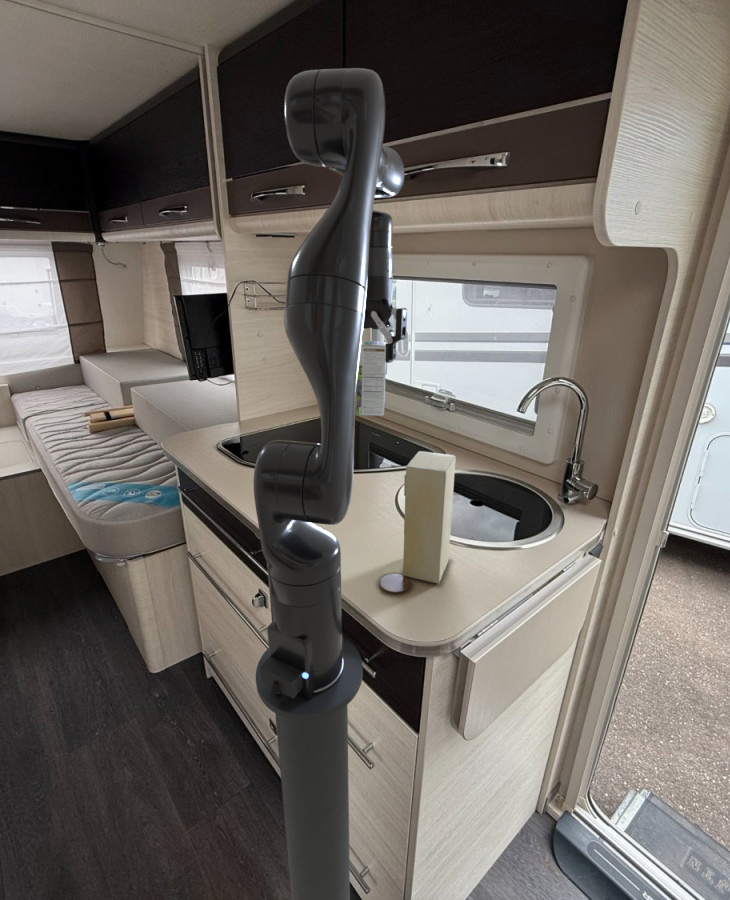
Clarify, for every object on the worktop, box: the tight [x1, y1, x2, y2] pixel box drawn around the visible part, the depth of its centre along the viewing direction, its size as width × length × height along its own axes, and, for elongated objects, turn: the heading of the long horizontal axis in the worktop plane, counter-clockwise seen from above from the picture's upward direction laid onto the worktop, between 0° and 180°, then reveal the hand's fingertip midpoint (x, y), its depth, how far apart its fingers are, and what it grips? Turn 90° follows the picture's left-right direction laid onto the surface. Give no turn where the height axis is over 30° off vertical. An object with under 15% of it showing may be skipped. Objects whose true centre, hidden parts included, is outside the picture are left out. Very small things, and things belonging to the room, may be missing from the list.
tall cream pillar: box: [402, 450, 457, 584], centre depth 81 cm, size 8×7×21 cm
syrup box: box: [356, 340, 387, 417], centre depth 96 cm, size 6×6×14 cm
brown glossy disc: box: [379, 573, 410, 595], centre depth 80 cm, size 5×5×1 cm
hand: (372, 360), depth 95 cm, fingers closed on syrup box, 7 cm apart
